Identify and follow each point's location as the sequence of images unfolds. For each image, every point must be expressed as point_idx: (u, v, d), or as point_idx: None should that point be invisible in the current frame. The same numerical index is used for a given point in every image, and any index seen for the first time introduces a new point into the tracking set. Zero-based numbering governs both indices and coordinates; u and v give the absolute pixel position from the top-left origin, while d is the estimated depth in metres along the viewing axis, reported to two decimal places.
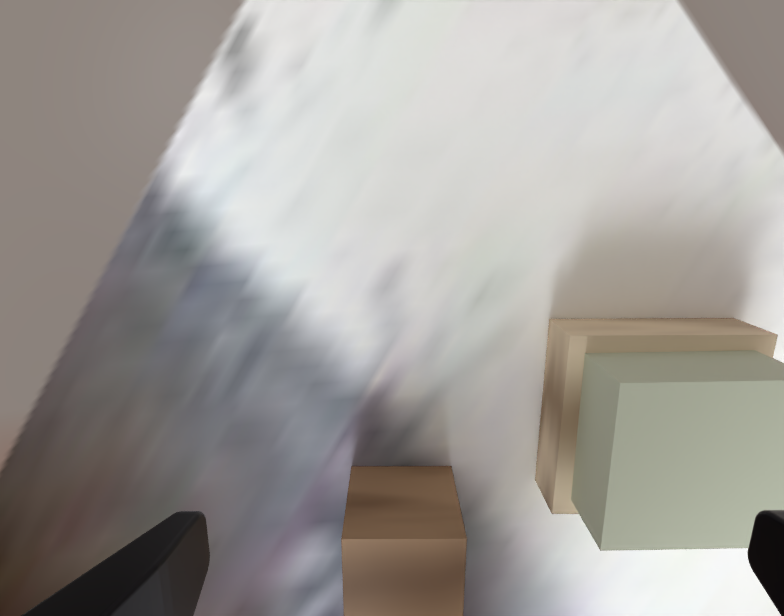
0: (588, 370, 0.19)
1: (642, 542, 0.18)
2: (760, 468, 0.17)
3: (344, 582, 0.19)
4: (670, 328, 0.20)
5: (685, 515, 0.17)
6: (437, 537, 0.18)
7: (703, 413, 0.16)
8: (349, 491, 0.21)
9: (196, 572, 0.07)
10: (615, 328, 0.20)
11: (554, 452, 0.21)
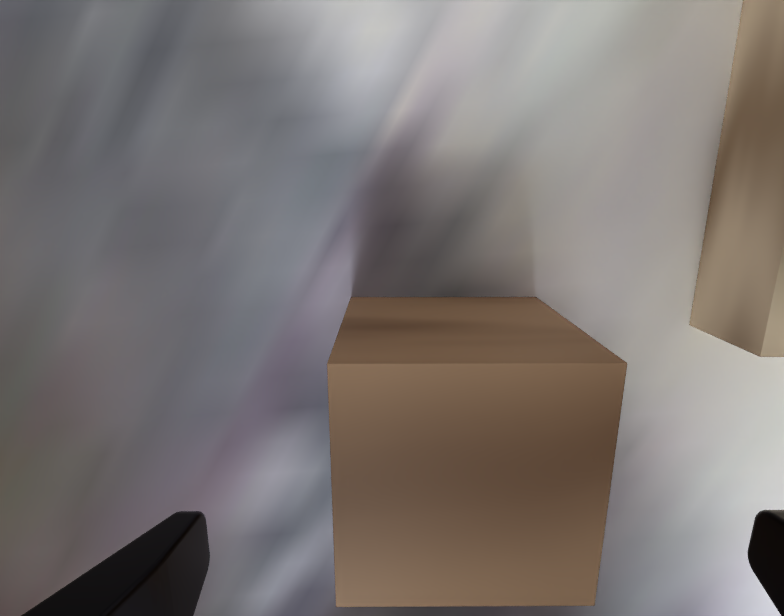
0: None
1: None
2: None
3: (335, 476, 0.08)
4: None
5: None
6: (555, 361, 0.08)
7: None
8: (347, 316, 0.10)
9: (196, 572, 0.07)
10: None
11: (770, 224, 0.10)
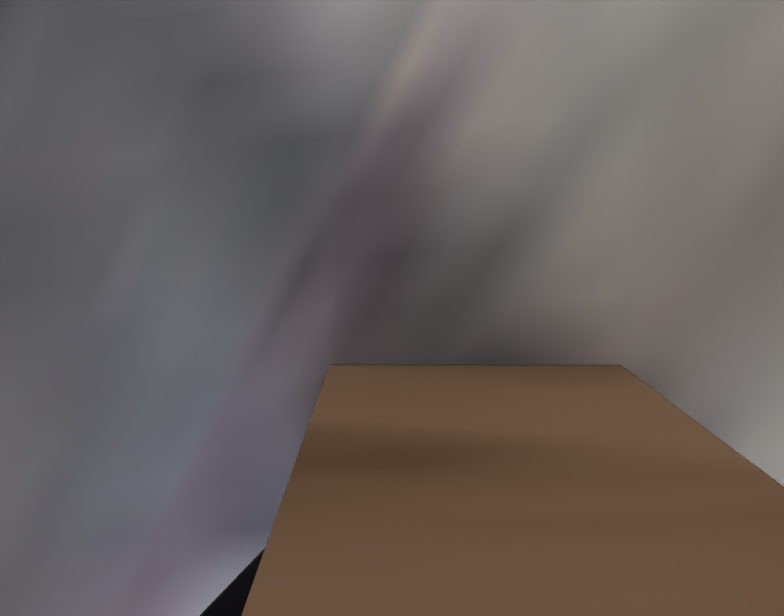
0: None
1: None
2: None
3: None
4: None
5: None
6: None
7: None
8: (314, 423, 0.06)
9: None
10: None
11: None
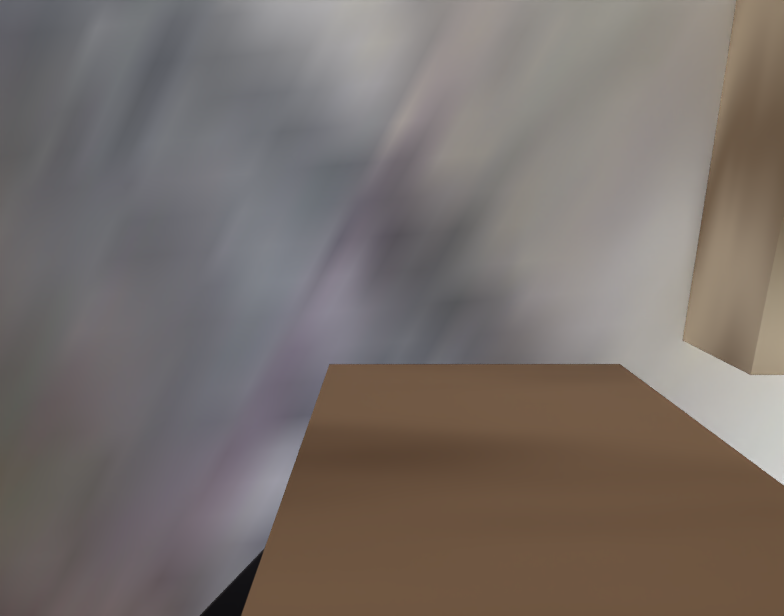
0: None
1: None
2: None
3: None
4: None
5: None
6: None
7: None
8: (314, 421, 0.06)
9: None
10: None
11: (760, 245, 0.10)
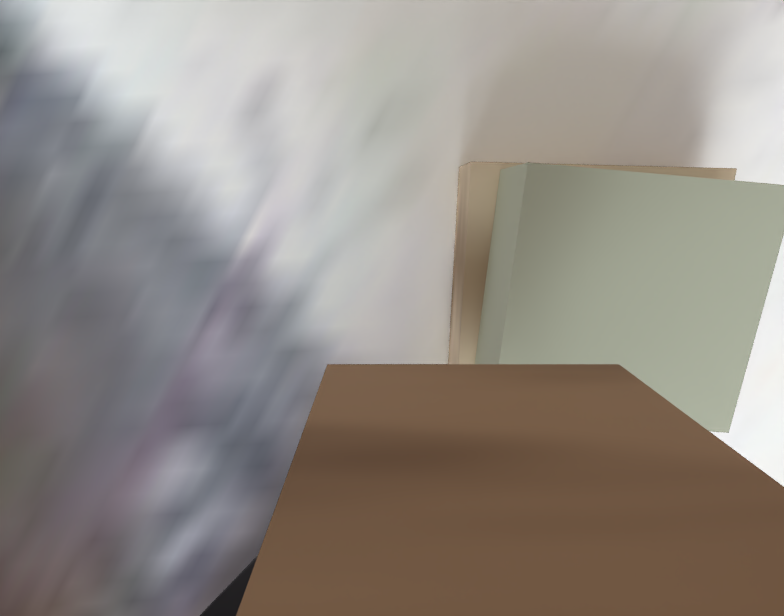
0: (501, 188, 0.14)
1: None
2: (708, 312, 0.13)
3: None
4: None
5: None
6: None
7: (638, 221, 0.12)
8: (311, 421, 0.06)
9: None
10: None
11: (458, 329, 0.16)
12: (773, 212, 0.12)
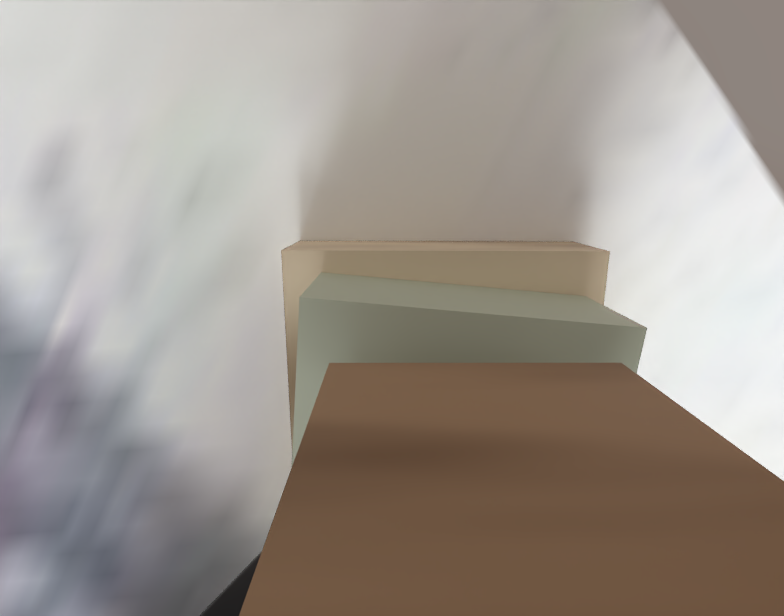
0: None
1: None
2: None
3: None
4: (458, 246, 0.13)
5: None
6: None
7: None
8: (314, 419, 0.06)
9: None
10: (371, 246, 0.13)
11: None
12: (619, 358, 0.09)
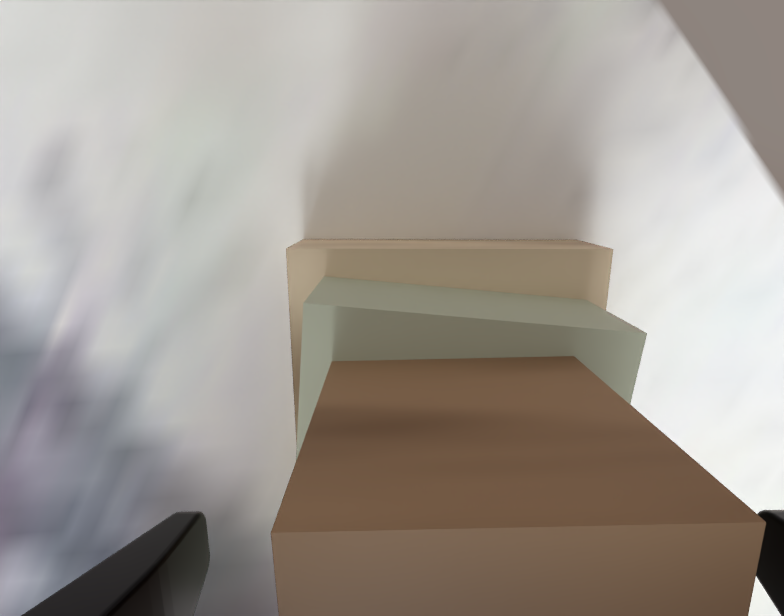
0: None
1: None
2: None
3: None
4: (461, 244, 0.13)
5: None
6: (645, 519, 0.05)
7: None
8: (320, 404, 0.08)
9: (196, 572, 0.07)
10: (375, 244, 0.13)
11: None
12: (619, 363, 0.10)
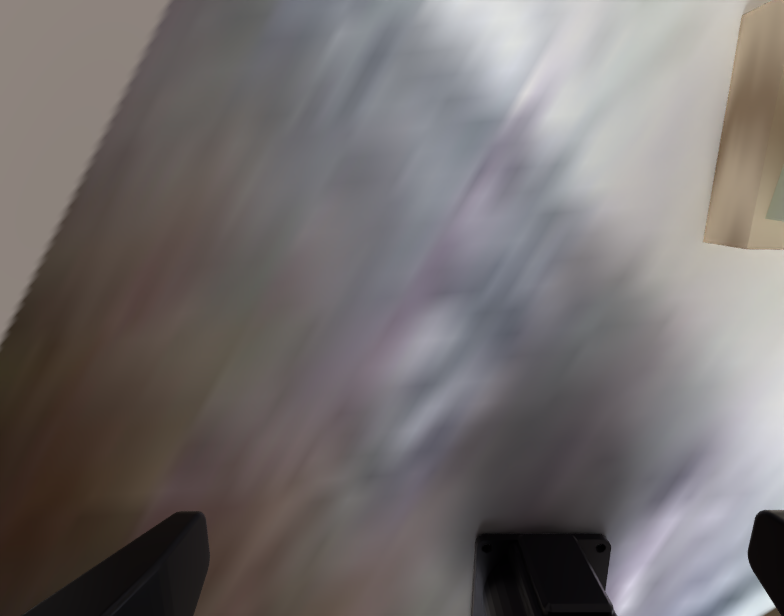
0: None
1: None
2: None
3: None
4: None
5: None
6: None
7: None
8: None
9: (196, 572, 0.07)
10: None
11: (753, 168, 0.17)
12: None
